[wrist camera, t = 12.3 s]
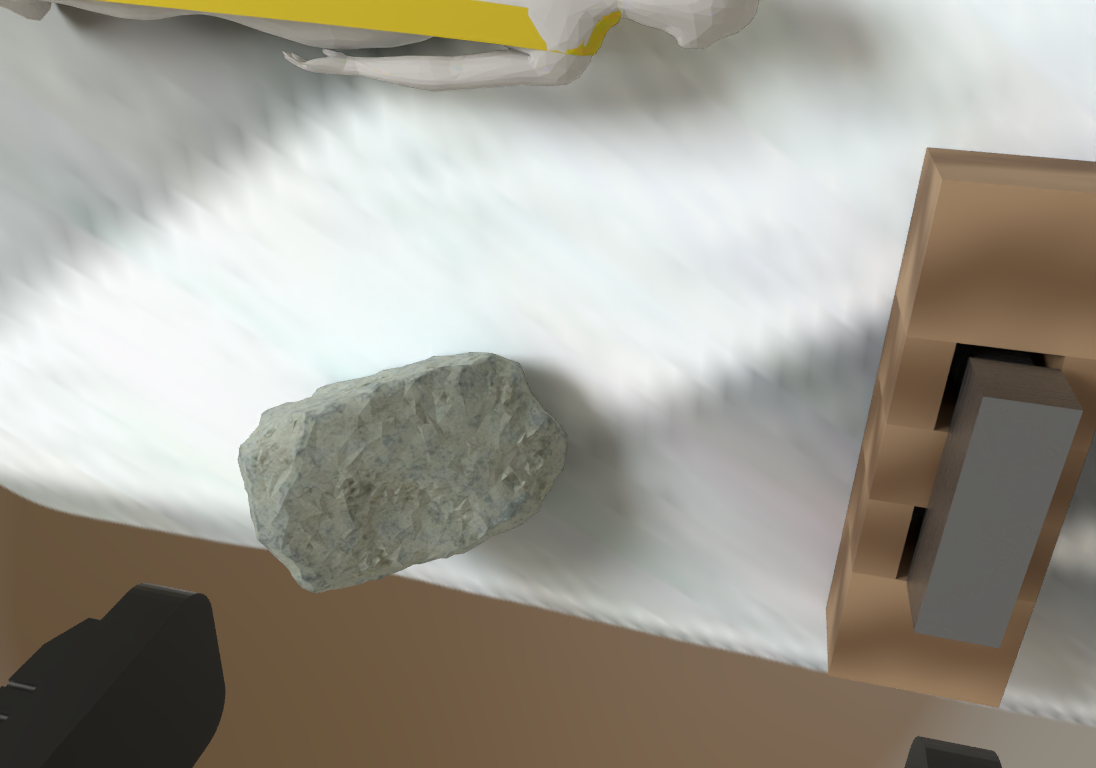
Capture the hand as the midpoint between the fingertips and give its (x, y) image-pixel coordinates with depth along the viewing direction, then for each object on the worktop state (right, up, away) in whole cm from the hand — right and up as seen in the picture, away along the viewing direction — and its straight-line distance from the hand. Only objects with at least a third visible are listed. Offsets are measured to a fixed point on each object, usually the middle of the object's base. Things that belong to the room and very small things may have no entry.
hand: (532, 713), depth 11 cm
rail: (+17, +2, +29) cm, 34 cm away
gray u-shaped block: (+17, +2, +29) cm, 34 cm away
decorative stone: (-5, +2, +36) cm, 36 cm away
